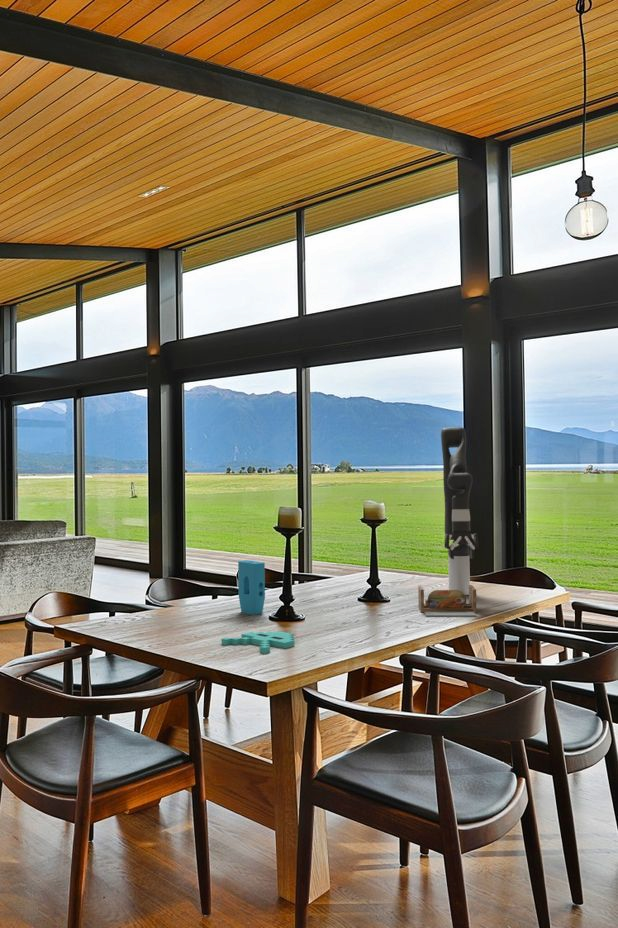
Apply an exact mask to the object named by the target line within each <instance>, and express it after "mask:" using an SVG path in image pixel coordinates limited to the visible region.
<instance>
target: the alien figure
mask: <svg viewBox="0 0 618 928" xmlns="http://www.w3.org/2000/svg"><path fill="white" fill-rule="evenodd" d="M240 636H241V637H236V636H235V637H232V638H231V637H223V638H221V645H223V646H228V645H229V646H230V645H235V646H237V645H244V646H245V645H250V644H251V645H255V646H259V653H260V654H264V655H265V654H270V653H271V647H277V648H279V649H288V648H292V647H295V637H294V633H290V632H284V631H276V632H275V631H265V632H263V631H258V632H254V631H250V632H249V631H248V632H245V633H241V635H240Z"/></svg>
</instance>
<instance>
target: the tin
mask: <svg viewBox="0 0 618 928" xmlns="http://www.w3.org/2000/svg"><path fill="white" fill-rule="evenodd" d="M466 597H467V596H466V595H464V594H463V593H462V592H461V591H459V590H449V589H435V590H433V591H431V592H430V593H429V594H428V596H427V601H428V605H429V607H430V608H464V606H465V604H466V603H467V598H466Z"/></svg>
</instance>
